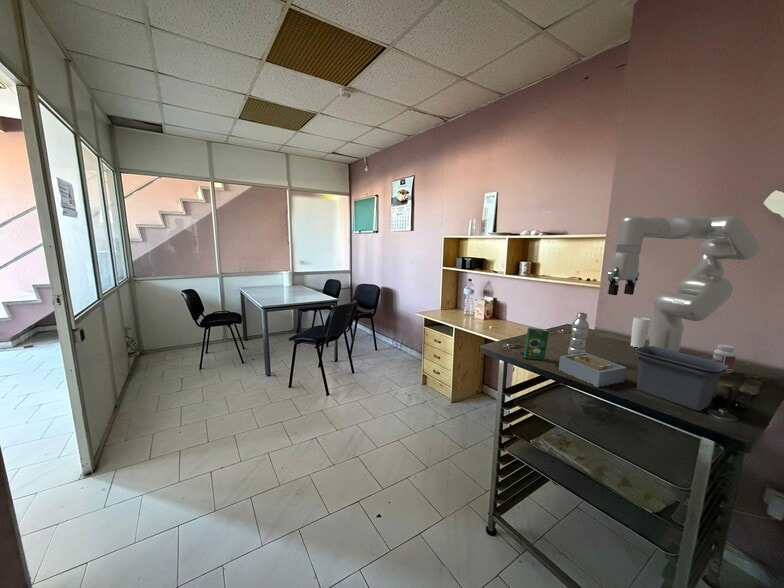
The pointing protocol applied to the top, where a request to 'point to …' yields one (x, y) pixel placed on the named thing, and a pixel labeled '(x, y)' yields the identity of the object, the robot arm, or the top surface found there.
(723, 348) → the pill bottle
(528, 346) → the coffee box
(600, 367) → the wooden crate
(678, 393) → the storage bin
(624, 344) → the top surface
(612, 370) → the grey crate
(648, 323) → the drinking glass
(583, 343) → the plastic bottle
